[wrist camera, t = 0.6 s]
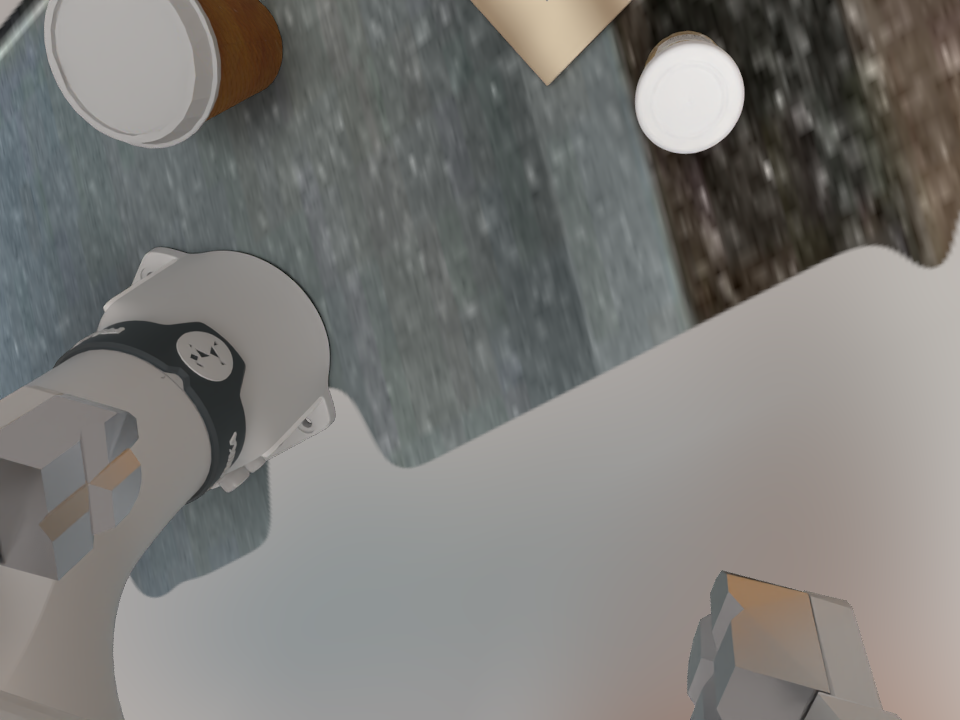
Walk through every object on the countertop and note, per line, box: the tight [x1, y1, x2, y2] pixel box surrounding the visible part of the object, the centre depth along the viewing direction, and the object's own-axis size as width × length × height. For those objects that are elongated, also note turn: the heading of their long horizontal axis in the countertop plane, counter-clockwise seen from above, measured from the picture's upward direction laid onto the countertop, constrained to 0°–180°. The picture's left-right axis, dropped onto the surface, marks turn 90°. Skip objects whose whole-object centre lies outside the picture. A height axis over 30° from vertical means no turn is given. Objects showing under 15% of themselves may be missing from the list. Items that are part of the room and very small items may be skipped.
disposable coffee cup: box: [44, 0, 282, 148], centre depth 44 cm, size 10×10×12 cm
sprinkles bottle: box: [635, 31, 744, 154], centre depth 38 cm, size 5×5×13 cm
